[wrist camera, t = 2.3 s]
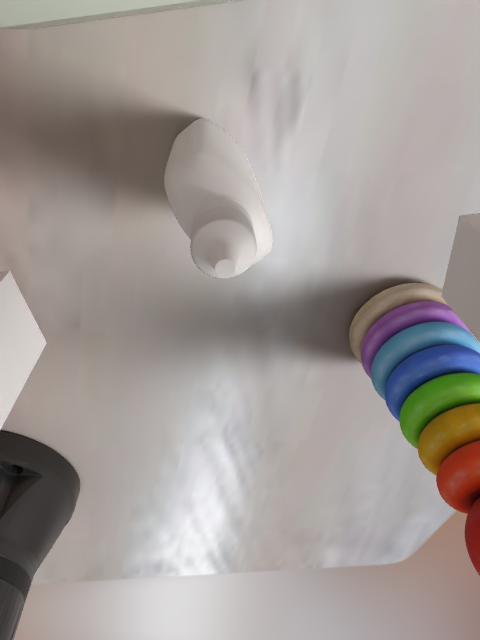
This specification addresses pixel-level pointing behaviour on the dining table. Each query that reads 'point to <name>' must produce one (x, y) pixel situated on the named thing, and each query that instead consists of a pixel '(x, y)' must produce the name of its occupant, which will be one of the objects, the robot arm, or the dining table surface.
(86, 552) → the dining table surface
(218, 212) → the eye dropper bottle
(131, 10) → the rail
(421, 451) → the stacking toy
